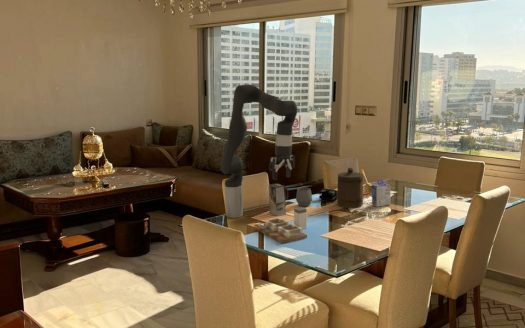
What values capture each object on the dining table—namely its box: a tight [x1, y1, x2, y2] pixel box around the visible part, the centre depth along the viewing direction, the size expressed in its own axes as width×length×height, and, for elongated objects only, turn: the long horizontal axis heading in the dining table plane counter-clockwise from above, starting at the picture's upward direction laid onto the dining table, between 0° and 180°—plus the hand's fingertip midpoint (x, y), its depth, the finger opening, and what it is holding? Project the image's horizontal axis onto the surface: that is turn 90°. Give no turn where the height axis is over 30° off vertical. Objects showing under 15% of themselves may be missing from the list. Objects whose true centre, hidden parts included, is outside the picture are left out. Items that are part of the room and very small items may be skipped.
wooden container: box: [336, 167, 364, 209], centre depth 282 cm, size 15×15×22 cm
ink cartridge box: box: [371, 179, 392, 208], centre depth 280 cm, size 10×6×14 cm, turn 112°
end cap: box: [318, 188, 337, 203], centre depth 294 cm, size 10×7×7 cm
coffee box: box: [268, 183, 287, 217], centre depth 269 cm, size 9×6×16 cm
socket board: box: [255, 217, 308, 244], centre depth 236 cm, size 24×14×4 cm, turn 30°
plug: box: [293, 206, 307, 230], centre depth 244 cm, size 4×4×10 cm
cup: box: [295, 187, 313, 208], centre depth 283 cm, size 10×9×10 cm
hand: (281, 178), depth 225 cm, fingers open, 8 cm apart
